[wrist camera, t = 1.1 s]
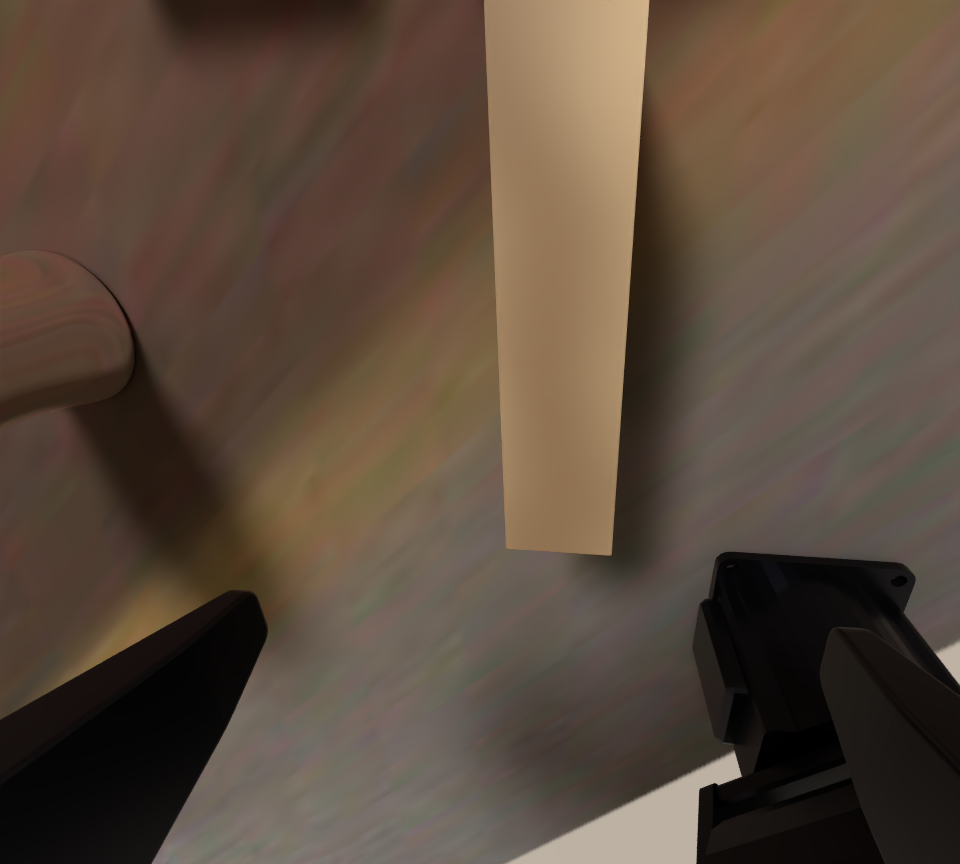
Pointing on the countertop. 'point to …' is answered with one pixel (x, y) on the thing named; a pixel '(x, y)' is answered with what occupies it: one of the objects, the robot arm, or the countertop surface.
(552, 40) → the tan block
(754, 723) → the robot arm
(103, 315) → the beer glass
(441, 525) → the countertop surface
